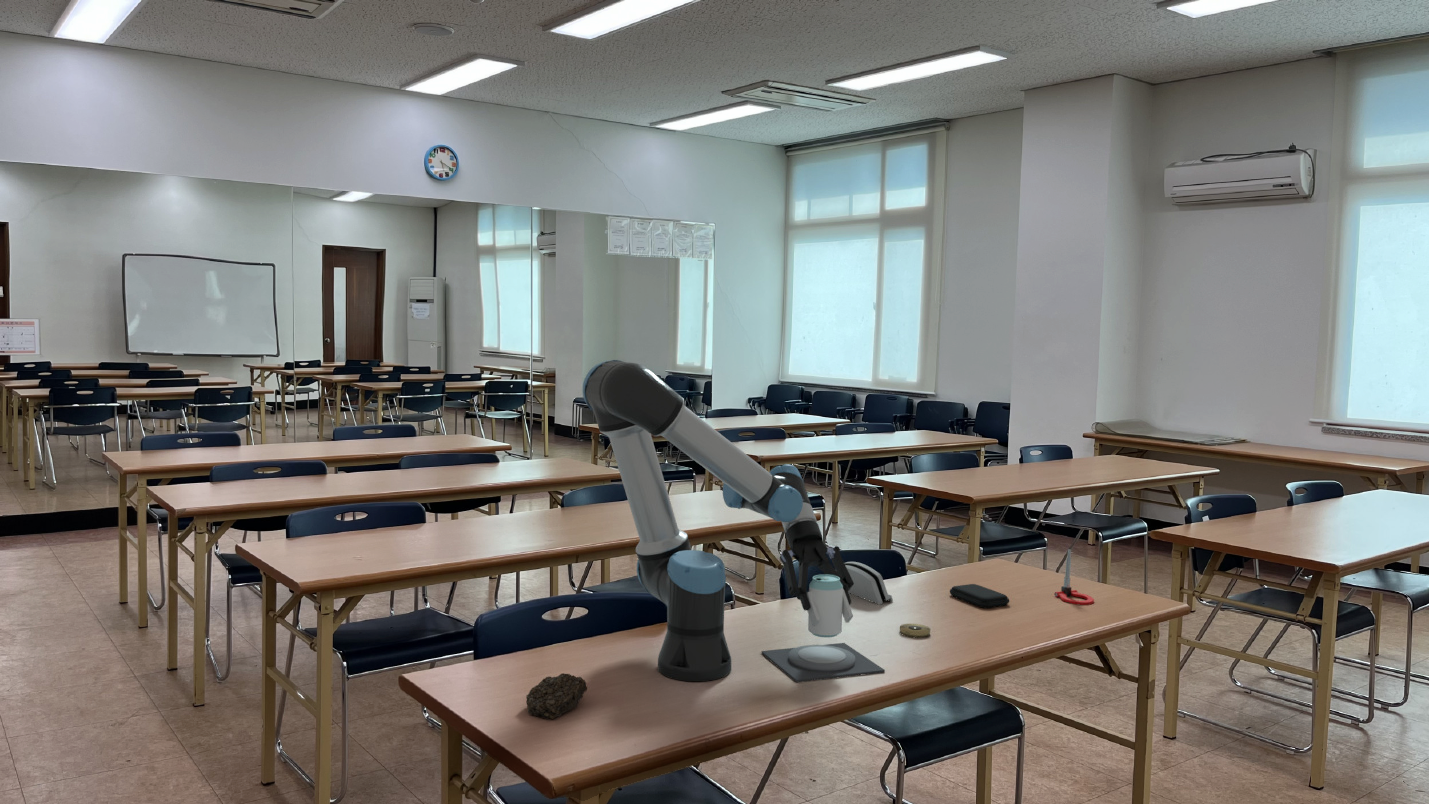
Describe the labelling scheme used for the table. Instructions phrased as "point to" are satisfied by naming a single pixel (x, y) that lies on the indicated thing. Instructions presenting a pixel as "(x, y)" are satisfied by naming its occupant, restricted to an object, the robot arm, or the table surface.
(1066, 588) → the tow hook
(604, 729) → the table surface
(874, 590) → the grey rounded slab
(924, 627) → the small brass flange
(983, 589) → the carrying case or bag
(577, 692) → the concrete sample
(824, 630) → the can
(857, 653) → the flange station
